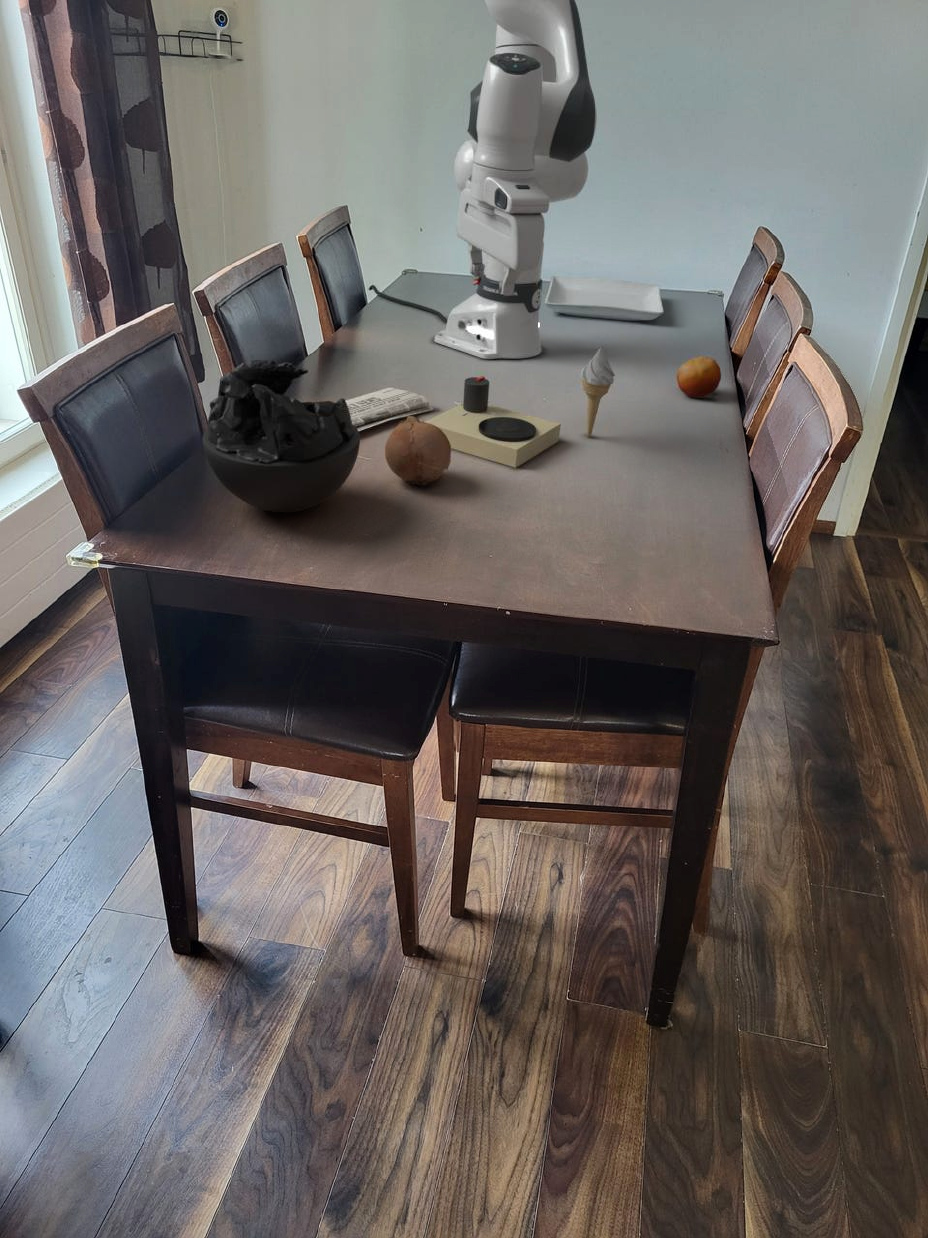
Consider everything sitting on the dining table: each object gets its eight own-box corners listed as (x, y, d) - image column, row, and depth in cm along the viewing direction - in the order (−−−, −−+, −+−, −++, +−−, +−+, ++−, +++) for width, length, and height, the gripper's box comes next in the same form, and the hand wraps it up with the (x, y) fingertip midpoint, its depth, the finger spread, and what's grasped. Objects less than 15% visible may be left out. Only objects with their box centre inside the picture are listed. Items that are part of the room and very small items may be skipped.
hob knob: (479, 414, 149) (481, 384, 147) (458, 408, 151) (460, 379, 148) (491, 408, 152) (494, 378, 150) (471, 402, 154) (473, 373, 151)
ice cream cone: (569, 430, 154) (580, 339, 146) (602, 430, 155) (615, 341, 147) (575, 443, 150) (587, 350, 142) (609, 443, 150) (623, 351, 142)
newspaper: (338, 444, 143) (337, 429, 142) (289, 429, 151) (287, 414, 149) (439, 411, 158) (439, 396, 157) (390, 398, 165) (389, 384, 164)
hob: (417, 438, 148) (418, 419, 146) (466, 413, 158) (467, 395, 156) (515, 468, 140) (517, 448, 138) (560, 440, 150) (562, 421, 149)
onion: (399, 489, 138) (385, 422, 136) (460, 478, 137) (447, 409, 135) (386, 493, 129) (371, 421, 127) (452, 481, 127) (438, 407, 126)
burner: (467, 431, 143) (467, 427, 143) (497, 416, 149) (497, 412, 149) (517, 446, 139) (518, 442, 139) (546, 429, 146) (546, 425, 145)
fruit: (729, 397, 169) (714, 357, 166) (687, 414, 172) (671, 375, 169) (727, 383, 175) (713, 344, 172) (687, 400, 179) (672, 362, 175)
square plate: (549, 289, 237) (551, 273, 235) (657, 299, 235) (660, 283, 233) (542, 316, 214) (544, 299, 212) (661, 327, 212) (664, 310, 210)
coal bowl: (284, 462, 137) (277, 334, 126) (390, 501, 128) (392, 366, 117) (177, 507, 122) (159, 367, 112) (288, 555, 113) (280, 407, 103)
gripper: (450, 170, 139) (442, 265, 147) (516, 203, 125) (504, 306, 133) (487, 171, 142) (477, 264, 150) (556, 202, 127) (542, 304, 135)
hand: (490, 284), depth 141 cm, fingers open, 8 cm apart
